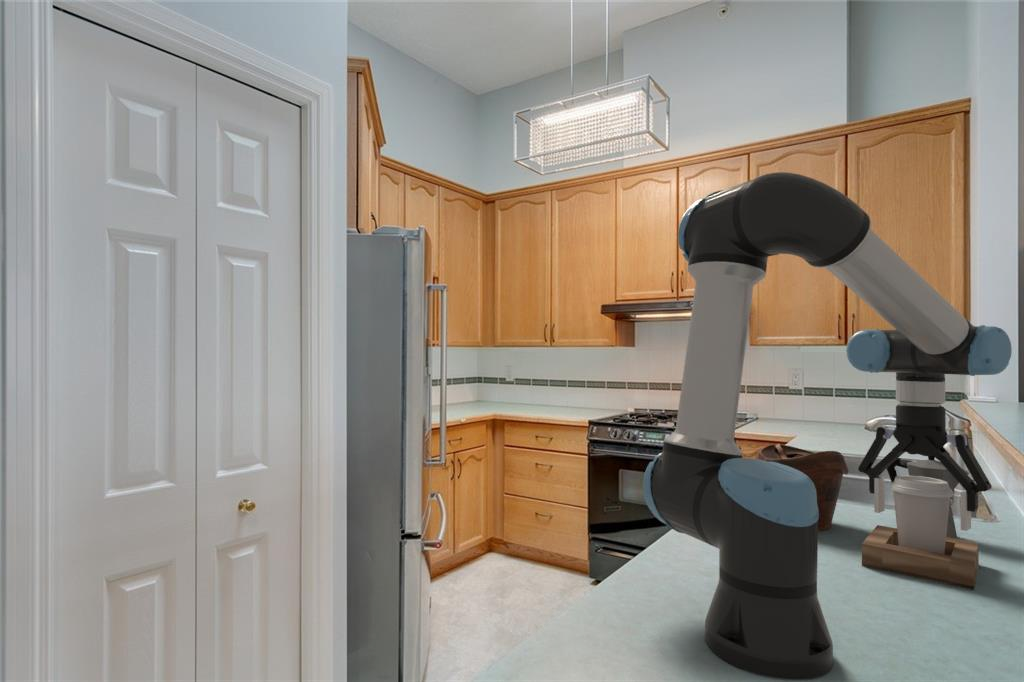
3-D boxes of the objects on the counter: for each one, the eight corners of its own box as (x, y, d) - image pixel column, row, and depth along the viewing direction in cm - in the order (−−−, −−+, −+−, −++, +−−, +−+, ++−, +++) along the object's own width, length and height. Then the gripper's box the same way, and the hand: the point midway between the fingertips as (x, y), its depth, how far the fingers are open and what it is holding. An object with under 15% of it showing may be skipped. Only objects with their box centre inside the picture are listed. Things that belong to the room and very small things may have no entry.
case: (761, 506, 146) (761, 435, 146) (852, 521, 135) (852, 444, 135) (742, 523, 132) (743, 445, 132) (843, 542, 120) (843, 455, 120)
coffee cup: (957, 562, 106) (956, 480, 107) (950, 576, 99) (950, 488, 100) (895, 549, 113) (895, 472, 113) (885, 561, 106) (885, 479, 106)
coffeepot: (977, 539, 122) (976, 454, 122) (960, 547, 116) (960, 458, 117) (895, 522, 134) (895, 444, 135) (877, 528, 129) (877, 447, 129)
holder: (973, 590, 95) (973, 565, 95) (861, 565, 105) (861, 543, 106) (978, 564, 107) (978, 542, 107) (877, 544, 118) (877, 525, 118)
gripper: (1013, 408, 99) (1013, 533, 99) (856, 398, 119) (856, 502, 119) (1000, 411, 95) (1001, 541, 94) (839, 400, 115) (839, 507, 114)
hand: (920, 520), depth 106 cm, fingers open, 13 cm apart
